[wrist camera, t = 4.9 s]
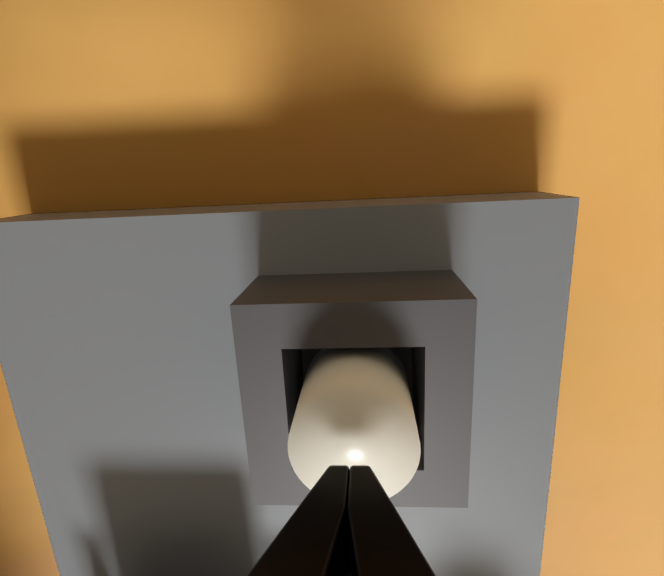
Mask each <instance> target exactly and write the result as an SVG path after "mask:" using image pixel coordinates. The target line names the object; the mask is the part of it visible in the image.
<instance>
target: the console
mask: <svg viewBox="0 0 664 576" xmlns="http://www.w3.org/2000/svg"><path fill="white" fill-rule="evenodd" d="M578 207H579V197H572V196H565V195H558V194H551V193H545V192H518V193H495V194H472V195H450V196H427V197H404V198H382V199H359V200H336V201H314V202H291V203H268V204H246V205H223V206H200V207H178V208H155V209H132V210H110V211H87V212H64V213H42V214H27V215H20V216H13V217H6V218H0V363H1V367H2V371H3V374H4V378H5V381H6V385H7V388H8V392H9V395H10V399H11V403H12V406H13V410H14V413H15V417H16V420H17V424H18V428H19V431H20V435H21V438H22V442H23V445H24V449H25V452H26V456H27V460H28V463H29V467H30V470H31V474H32V477H33V481H34V485H35V488H36V492H37V495H38V499H39V502H40V506H41V509H42V513H43V517H44V520H45V524H46V527H47V531H48V534H49V538H50V542H51V545H52V549H53V552H54V556H55V559H56V563H57V567H58V570H59V574H60V576H247V575H248V573H249V572H250V571H251V569H252V568H253V567H254V565H255V564H256V563H257V561H258V560H259V559H260V557H261V556H262V555H263V553H264V552H265V551H266V549H267V548H268V547H269V545H270V544H271V543H272V541H273V540H274V539H275V537H276V536H277V535H278V533H279V532H280V531H281V529H282V528H283V527H284V525H285V524H286V523H287V521H288V520H289V519H290V517H291V516H292V515H293V513H294V512H295V511H296V509H297V508H298V507H299V505H300V504H301V503H302V501H303V500H304V499H305V497H306V496H307V495H308V493H309V492H310V491H311V490H310V489H309V488H308V487H306V486H305V485H304V484H303V483H302V481H301V480H300V479H299V478H298V476H297V475H296V473H295V472H294V470H293V468H292V466H291V463H290V460H289V456H288V436H289V432H290V429H291V425H292V422H293V418H294V414H295V411H296V407H297V404H298V400H299V396H300V393H301V389H302V386H303V382H304V379H305V375H306V372H307V368H308V366H309V364H310V362H311V360H312V359H313V357H314V356H315V355H316V354H317V353H318V352H319V351H320V350H321V349H322V348H382V347H387V348H388V349H389V350H391V351H392V352H393V353H394V354H395V355H396V356H397V357H398V359H399V360H400V361H401V363H402V365H403V367H404V369H405V372H406V376H407V381H408V386H409V390H410V395H411V400H412V405H413V410H414V415H415V420H416V425H417V430H418V435H419V440H420V447H421V454H420V461H419V465H418V468H417V470H416V473H415V474H414V476H413V478H412V479H411V480H410V482H409V483H408V484H407V485H406V486H405V487H404V488H403V489H402V490H401V491H400V492H398V493H397V494H395V495H394V496H392V497H390V500H391V502H392V503H393V505H394V507H395V508H396V510H397V512H398V513H399V515H400V517H401V518H402V520H403V522H404V523H405V525H406V527H407V528H408V530H409V532H410V533H411V535H412V537H413V538H414V540H415V542H416V543H417V545H418V547H419V548H420V550H421V552H422V553H423V555H424V557H425V558H426V560H427V562H428V563H429V565H430V567H431V568H432V570H433V572H434V573H435V575H436V576H540V569H541V559H542V549H543V540H544V530H545V521H546V511H547V502H548V492H549V483H550V473H551V464H552V454H553V445H554V435H555V426H556V416H557V407H558V397H559V388H560V378H561V369H562V359H563V349H564V340H565V330H566V321H567V311H568V302H569V292H570V283H571V273H572V264H573V254H574V245H575V235H576V226H577V216H578Z"/></svg>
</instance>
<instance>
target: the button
mask: <svg viewBox="0 0 664 576" xmlns="http://www.w3.org/2000/svg"><path fill="white" fill-rule="evenodd" d="M420 454H421V447H420V440H419V435H418V430H417V425H416V420H415V415H414V410H413V405H412V400H411V395H410V390H409V386H408V381H407V376H406V372H405V369H404V367H403V365H402V363H401V361H400V360H399V359H398V357H397V356H396V355H395V354H394V353H393V352H392V351H391V350H389V349H388V348H387V347H382V348H322V349H321V350H320V351H319V352H318V353H317V354H316V355H315V356H314V357H313V359H312V360H311V362H310V364H309V366H308V368H307V372H306V375H305V379H304V382H303V386H302V389H301V393H300V396H299V400H298V404H297V407H296V411H295V414H294V418H293V422H292V425H291V429H290V432H289V436H288V456H289V460H290V463H291V466H292V468H293V470H294V472H295V473H296V475H297V476H298V478H299V479H300V480H301V481H302V483H303V484H304V485H305V486H306V487H308V488H309V489H310V490H311V489H312V488H313V487H314V485H315V484H316V483H317V481H318V480H319V479H320V477H321V476H322V475H323V473H324V472H325V471H326V469H327V468H328V467H329V466H330V465H347V466H348V467H349V470H350V467H351V466H353V465H367V466H370V467H371V469H372V470H373V472H374V473H375V475H376V477H377V478H378V480H379V482H380V483H381V485H382V487H383V488H384V490H385V492H386V493H387V495H388V497H389V498H390V497H392V496H394V495H395V494H397V493H398V492H400V491H401V490H402V489H403V488H404V487H405V486H406V485H407V484H408V483H409V482H410V480H411V479H412V478H413V476H414V474H415V473H416V470H417V468H418V465H419V461H420Z"/></svg>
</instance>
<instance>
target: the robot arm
mask: <svg viewBox="0 0 664 576" xmlns="http://www.w3.org/2000/svg"><path fill="white" fill-rule="evenodd" d="M247 576H436V575H435V573H434V572H433V570H432V568H431V567H430V565H429V563H428V562H427V560H426V558H425V557H424V555H423V553H422V552H421V550H420V548H419V547H418V545H417V543H416V542H415V540H414V538H413V537H412V535H411V533H410V532H409V530H408V528H407V527H406V525H405V523H404V522H403V520H402V518H401V517H400V515H399V513H398V512H397V510H396V508H395V507H394V505H393V503H392V502H391V500H390V498H389V497H388V495H387V493H386V492H385V490H384V488H383V487H382V485H381V483H380V482H379V480H378V478H377V477H376V475H375V473H374V472H373V470H372V469H371V467H370V466H367V465H353V466H351V467H350V470H349V467H348V466H347V465H330V466H329V467H328V468H327V469H326V471H325V472H324V473H323V475H322V476H321V477H320V479H319V480H318V481H317V483H316V484H315V485H314V487H313V488H312V489H311V491H310V492H309V493H308V495H307V496H306V497H305V499H304V500H303V501H302V503H301V504H300V505H299V507H298V508H297V509H296V511H295V512H294V513H293V515H292V516H291V517H290V519H289V520H288V521H287V523H286V524H285V525H284V527H283V528H282V529H281V531H280V532H279V533H278V535H277V536H276V537H275V539H274V540H273V541H272V543H271V544H270V545H269V547H268V548H267V549H266V551H265V552H264V553H263V555H262V556H261V557H260V559H259V560H258V561H257V563H256V564H255V565H254V567H253V568H252V569H251V571H250V572H249V573H248V575H247Z"/></svg>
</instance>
